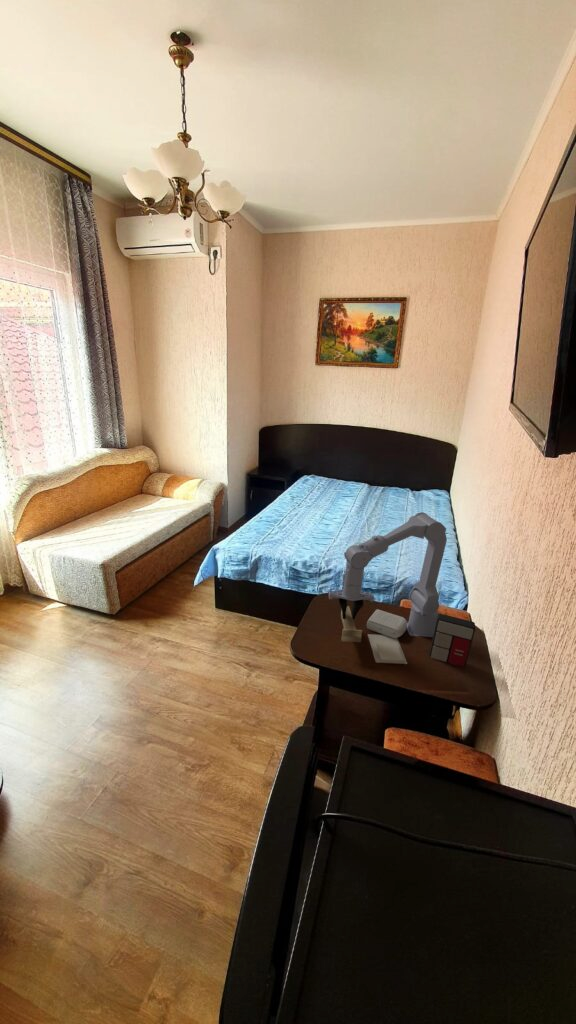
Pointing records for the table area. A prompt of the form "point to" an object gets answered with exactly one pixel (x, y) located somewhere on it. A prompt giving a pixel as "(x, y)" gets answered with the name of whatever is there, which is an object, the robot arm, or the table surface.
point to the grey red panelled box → (452, 639)
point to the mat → (382, 638)
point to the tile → (389, 652)
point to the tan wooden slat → (350, 628)
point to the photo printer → (387, 624)
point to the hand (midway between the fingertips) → (348, 617)
